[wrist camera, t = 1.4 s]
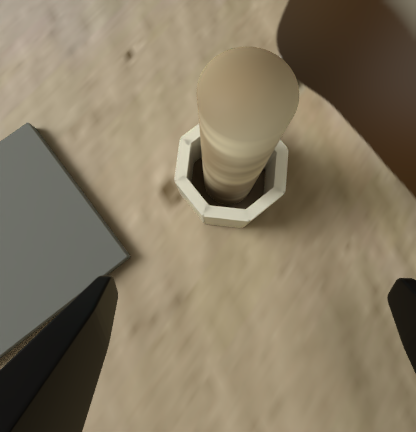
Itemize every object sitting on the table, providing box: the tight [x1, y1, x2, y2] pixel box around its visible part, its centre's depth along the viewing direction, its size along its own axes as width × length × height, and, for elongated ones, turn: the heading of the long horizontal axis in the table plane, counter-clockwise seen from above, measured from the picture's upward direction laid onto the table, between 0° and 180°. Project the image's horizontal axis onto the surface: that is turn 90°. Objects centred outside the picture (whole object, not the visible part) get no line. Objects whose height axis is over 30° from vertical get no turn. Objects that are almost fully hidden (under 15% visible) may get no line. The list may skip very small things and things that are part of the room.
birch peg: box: [197, 47, 299, 205], centre depth 17 cm, size 4×4×12 cm
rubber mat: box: [0, 123, 131, 358], centre depth 22 cm, size 14×14×1 cm
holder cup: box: [174, 124, 288, 228], centre depth 21 cm, size 8×8×4 cm
